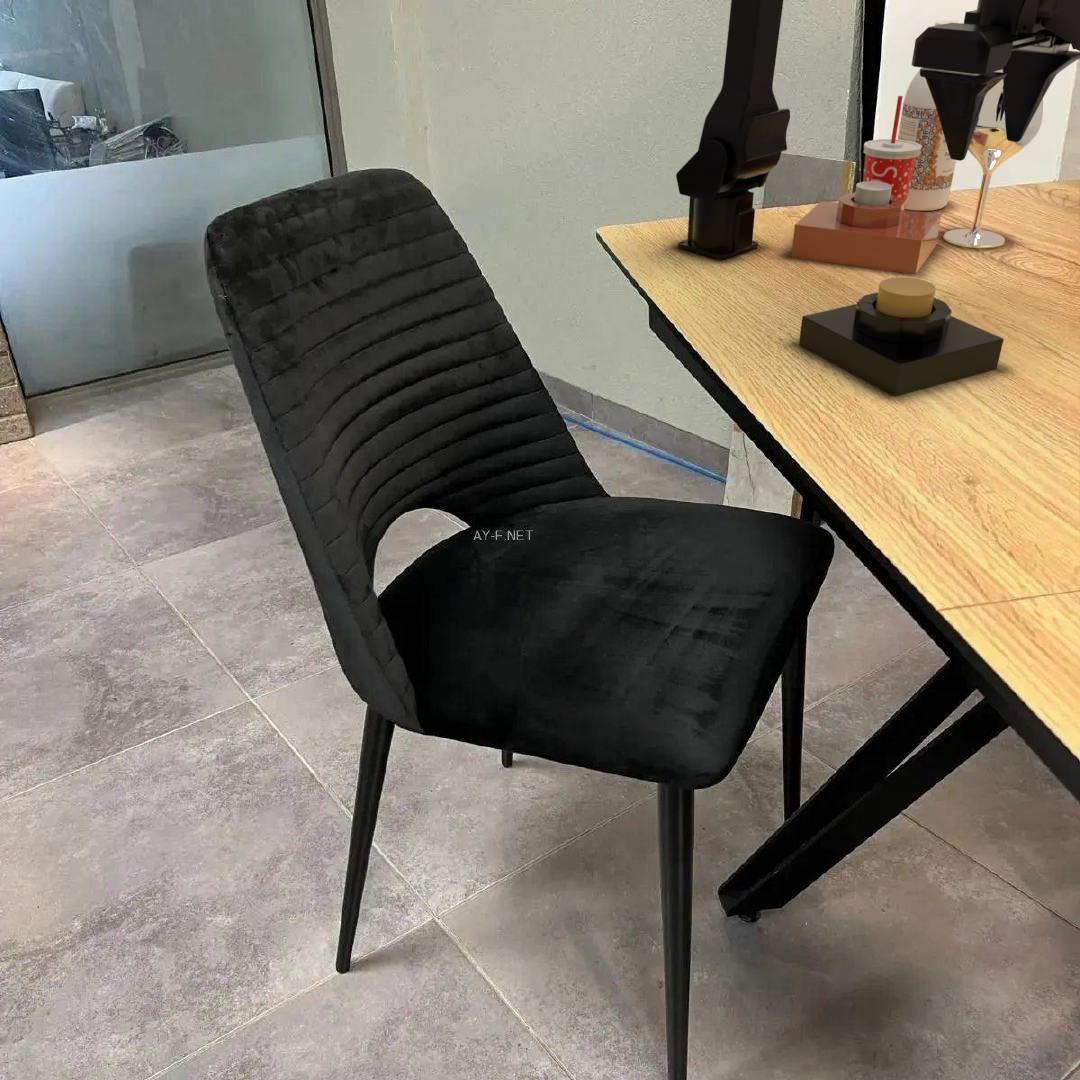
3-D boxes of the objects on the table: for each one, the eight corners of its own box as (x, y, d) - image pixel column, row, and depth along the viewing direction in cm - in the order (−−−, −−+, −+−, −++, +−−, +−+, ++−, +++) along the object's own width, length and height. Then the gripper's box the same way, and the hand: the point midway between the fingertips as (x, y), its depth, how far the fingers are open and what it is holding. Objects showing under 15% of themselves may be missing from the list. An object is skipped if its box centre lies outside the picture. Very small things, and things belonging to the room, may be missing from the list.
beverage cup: (841, 225, 119) (859, 96, 111) (874, 215, 122) (894, 88, 114) (884, 238, 114) (906, 104, 107) (918, 227, 118) (942, 96, 110)
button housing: (791, 257, 110) (796, 205, 107) (817, 231, 117) (823, 182, 114) (915, 274, 104) (925, 220, 101) (935, 246, 112) (945, 195, 109)
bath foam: (921, 215, 121) (954, 28, 110) (875, 203, 126) (903, 22, 115) (959, 205, 124) (995, 22, 113) (913, 193, 129) (943, 16, 118)
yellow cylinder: (864, 307, 86) (868, 282, 85) (904, 298, 88) (908, 273, 86) (901, 324, 83) (905, 299, 81) (942, 314, 84) (947, 289, 83)
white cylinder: (849, 206, 107) (852, 187, 106) (858, 198, 110) (861, 179, 109) (884, 210, 106) (887, 191, 105) (892, 201, 108) (895, 183, 107)
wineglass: (925, 229, 117) (957, 56, 107) (998, 228, 117) (1037, 54, 107) (947, 251, 110) (983, 69, 100) (1024, 250, 110) (1068, 67, 100)
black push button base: (798, 345, 90) (804, 295, 87) (895, 322, 94) (903, 274, 91) (894, 397, 81) (903, 343, 78) (997, 369, 85) (1009, 317, 82)
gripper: (1077, -52, 68) (1022, 188, 77) (1192, -68, 78) (1132, 146, 87) (927, -57, 75) (891, 163, 84) (1050, -71, 85) (1007, 127, 94)
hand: (986, 150), depth 87 cm, fingers open, 9 cm apart
